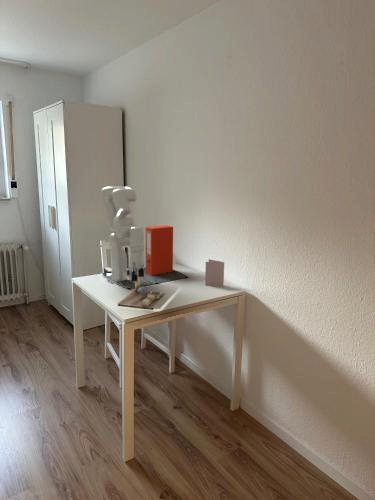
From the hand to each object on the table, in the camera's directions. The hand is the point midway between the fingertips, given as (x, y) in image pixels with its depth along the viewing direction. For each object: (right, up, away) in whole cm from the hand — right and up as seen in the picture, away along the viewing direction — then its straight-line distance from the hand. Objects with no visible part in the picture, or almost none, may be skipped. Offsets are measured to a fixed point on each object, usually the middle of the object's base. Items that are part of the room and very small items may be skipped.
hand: (137, 278), depth 201 cm
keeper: (+2, -9, -3) cm, 10 cm away
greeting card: (+44, -6, +22) cm, 50 cm away
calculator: (-21, 0, +44) cm, 49 cm away
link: (+8, -10, -10) cm, 17 cm away
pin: (-1, -8, +2) cm, 8 cm away
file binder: (+8, 0, +48) cm, 49 cm away
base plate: (+4, -11, -7) cm, 14 cm away
